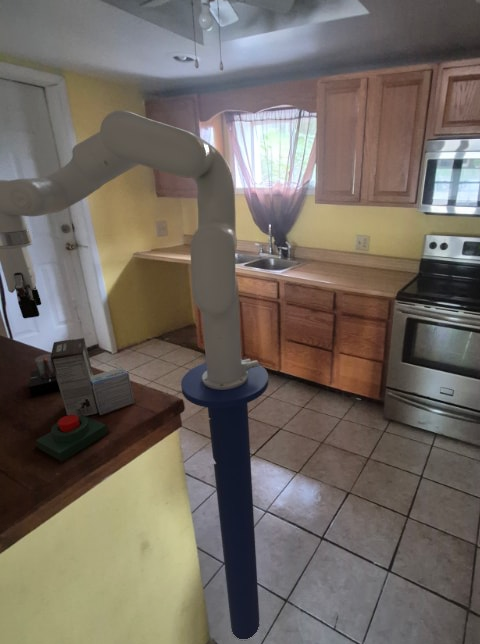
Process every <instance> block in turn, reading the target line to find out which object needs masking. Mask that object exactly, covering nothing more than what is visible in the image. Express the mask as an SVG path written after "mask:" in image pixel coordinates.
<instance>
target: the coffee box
mask: <svg viewBox="0 0 480 644" xmlns="http://www.w3.org/2000/svg"><path fill="white" fill-rule="evenodd" d="M50 354H51V357H50V358H51V361H52V364H53V368H54V371H55V374H56V378H57V381H58V385H59V388H60V395H61V398H62V402H63V405H64V409H65V412H66V416H68V415H77V416H81V415H84V416H86V417H89V416H91V415H95V414H99V412H98V408H97V405H96V401H95V397H94V393H93V389H92V385H91V376H93V375H94V372H93V371H94V370H93V367H92V365H91V364H92V363H91V361H90V356H89V352H88V347H87V344H86V340H85V337H80V338H76V339H75V338H74V339H65V340H59V341H54V342H53V344H52V348H51V352H50Z"/></svg>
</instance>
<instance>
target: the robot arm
mask: <svg viewBox="0 0 480 644" xmlns="http://www.w3.org/2000/svg"><path fill="white" fill-rule="evenodd" d="M71 153H72V155H71V156H72V158H71V159H70V161H68V163H66V164H65V165H64V166H62V167H61V168H59V169H58V170H56V171H54V172H52V173H51V174H49V175H47V176H45V177H42V178H41V177H39V178H38V177H35V178H32V177H31V178H18V179H10V180H7V179H0V266H1V270H2V273H3V277H4V280H5V284H6V287H7V291H8V292H9V293H11V294H12V293H13V294H14V292H15V293H16V297H17V304H18V307H19V309H20V312H21V316H22V318H23V319H31V318H39V316H40V311H39V308H38V306H41V305H42V300H41V296H40V294H39V291H38V289H37V286H36V284H37V279H36V274H35V269H34V264H33V262H32V258H31V255H30V251H29V248H28V247H29V246H33V241H32V238H31V234H30V231H29V227H28V224H27V220H26V217H40V216H44V215H50V214H55V213H59V212H62V211H64V210H66V209H68V208H70V207H72V206H73V205H75V204H77V203H79V202H81V201H82V200H84V199H86V198H87V197H89V196H91V195H92V194H93V193H94V192H96V191H98V190H99V189H101V187H103V186H104V185H106V184H107V183H110V182H111V181H113V180H115V179H116V178H117V177H120V176H121V175H123V174H125V173H127V172H128V171H130V170H132V169H134V168H135V167H138V166H139V165H140V166H143V167H147V168H150V169H153V170H157V171H160V172H163V173H167V174H170V175H173V176H176V177H180V178H184V179H185V178H186V179H193V180H194V181H195V184H196V188H197V193H196V194H197V195H196V196H197V198H196V199H197V201H196V203H197V229H196V230H195V232H194V233H193V235H192V238H191V241H190V269H191V270H190V271H191V292H192V294H191V295H192V299H193V302H194V304H195V305H196V307H197V308H198V309H199V311H201V312H200V313H201V323H202V333H203V334H202V335H203V343H204V344H203V345H204V353H205V363H206V365H207V371H205V372H204V374H203V375H202V382H203V384H204V385H205V386H207V387H209V388H212V389H217V390H226V389H232V388H236V387H238V386H241V385H242V384H244V383H245V382H246V381H247V379H248V371H247V370H249V369H250V368H255V367H258V366H259V365H260V364H259V360H257V359H256V360H252V361H251V359H250V358H246V359H243V361H242V341H241V323H240V322H241V321H240V298H239V297H240V295H239V294H240V293H239V292H240V291H239V282H238V278H237V275H236V251H237V247H238V238H237V229H236V225H237V224H236V223H237V222H236V221H237V220H236V215H237V213H236V188H235V180H234V175H233V172H232V170H231V167H230V165H229V162H228V161H227V159H226V158H225V156H224V155H223V154H222V153H221V152H220V151H219V150H218V149H216V148H215V146H213V145H211V143H209V142H207V141H206V140H204V139H203V138H201V137H200V136H198V135H196V134H194V133H192V132H191V131H188V130H185V129H182V128H179V127H176V126H172V125H170V124H166V123H163V122H160V121H158V120H154V119H151V118H148V117H144V116H142V115H139V114H136V113H135V112H131V111H129V110H124V109H123V110H122V109H119V110H114V111H111V112H110V113H108V114H107V115H105V116H104V118H103V120H102V121H101V125H100V129H99V131H98V132H96V133H94V134H92V135H91V136H90V137H88V138H86V139H84V140H82V141H81V142H79V143H77V144H75V145H74V146H73V148H72V150H71Z"/></svg>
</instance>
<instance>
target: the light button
mask: <svg viewBox="0 0 480 644" xmlns="http://www.w3.org/2000/svg"><path fill="white" fill-rule="evenodd" d="M57 422H58V425H59V428H60V431H62V432H68V431H71V430H74V429H76V428H78V427H79V425H80V422H79V419H78V416H77V415H68V416H67V415H65V416H63V417H61V418H60V419H58V421H57Z"/></svg>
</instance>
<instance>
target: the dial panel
mask: <svg viewBox="0 0 480 644" xmlns="http://www.w3.org/2000/svg"><path fill="white" fill-rule="evenodd" d="M28 389H29V393H30V395H31V398H32V397H38V396H41V395H46V394H51V393H55V392H59V391H60V388H59V385H58V381H57V378H56V376H55V377H52V378H47V379H44V378H41V377H40V374H39V371H38V369H37V370H32V371H30V374H29V382H28Z"/></svg>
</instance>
